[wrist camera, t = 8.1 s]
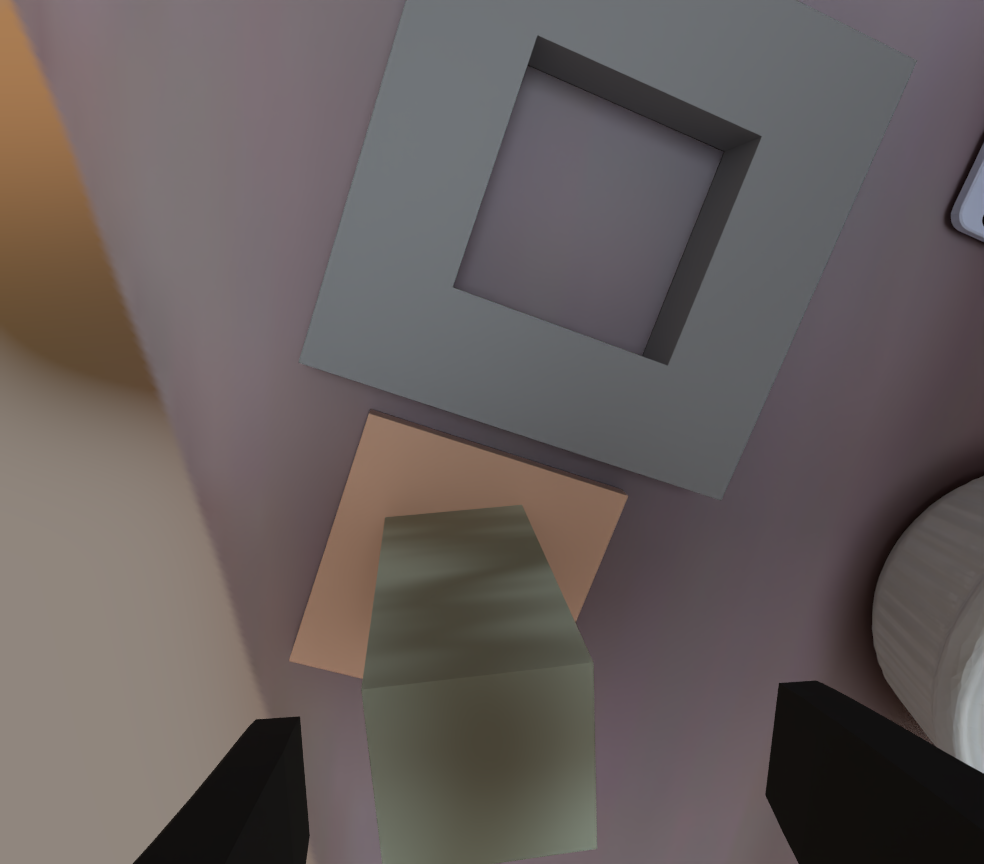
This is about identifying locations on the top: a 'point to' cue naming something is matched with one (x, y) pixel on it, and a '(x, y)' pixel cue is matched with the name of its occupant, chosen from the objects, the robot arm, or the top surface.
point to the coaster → (441, 488)
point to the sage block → (476, 695)
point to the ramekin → (938, 622)
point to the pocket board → (707, 258)
